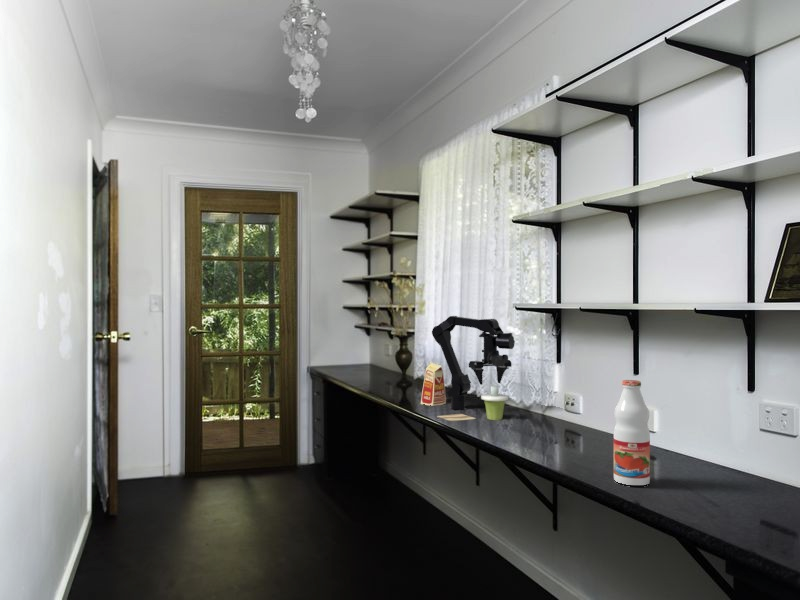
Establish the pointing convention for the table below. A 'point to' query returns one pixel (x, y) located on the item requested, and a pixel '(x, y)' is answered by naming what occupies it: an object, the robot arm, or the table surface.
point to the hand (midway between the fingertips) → (490, 383)
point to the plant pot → (494, 409)
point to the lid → (494, 395)
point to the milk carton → (433, 386)
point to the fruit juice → (631, 437)
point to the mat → (456, 417)
